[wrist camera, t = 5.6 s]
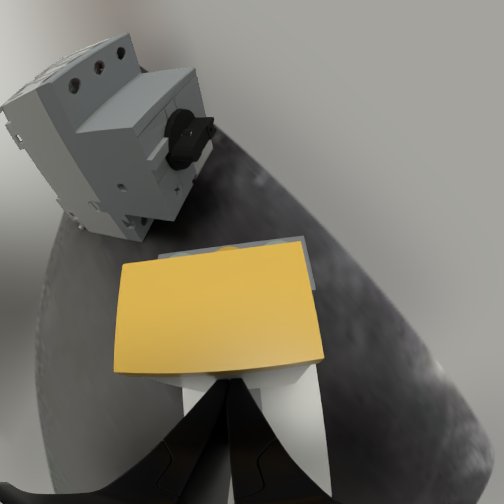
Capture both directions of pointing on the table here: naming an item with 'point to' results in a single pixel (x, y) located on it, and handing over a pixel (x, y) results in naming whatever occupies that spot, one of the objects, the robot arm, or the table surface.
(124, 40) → the circuit breaker
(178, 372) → the handle
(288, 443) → the long white slab
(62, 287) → the table surface
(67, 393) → the table surface
